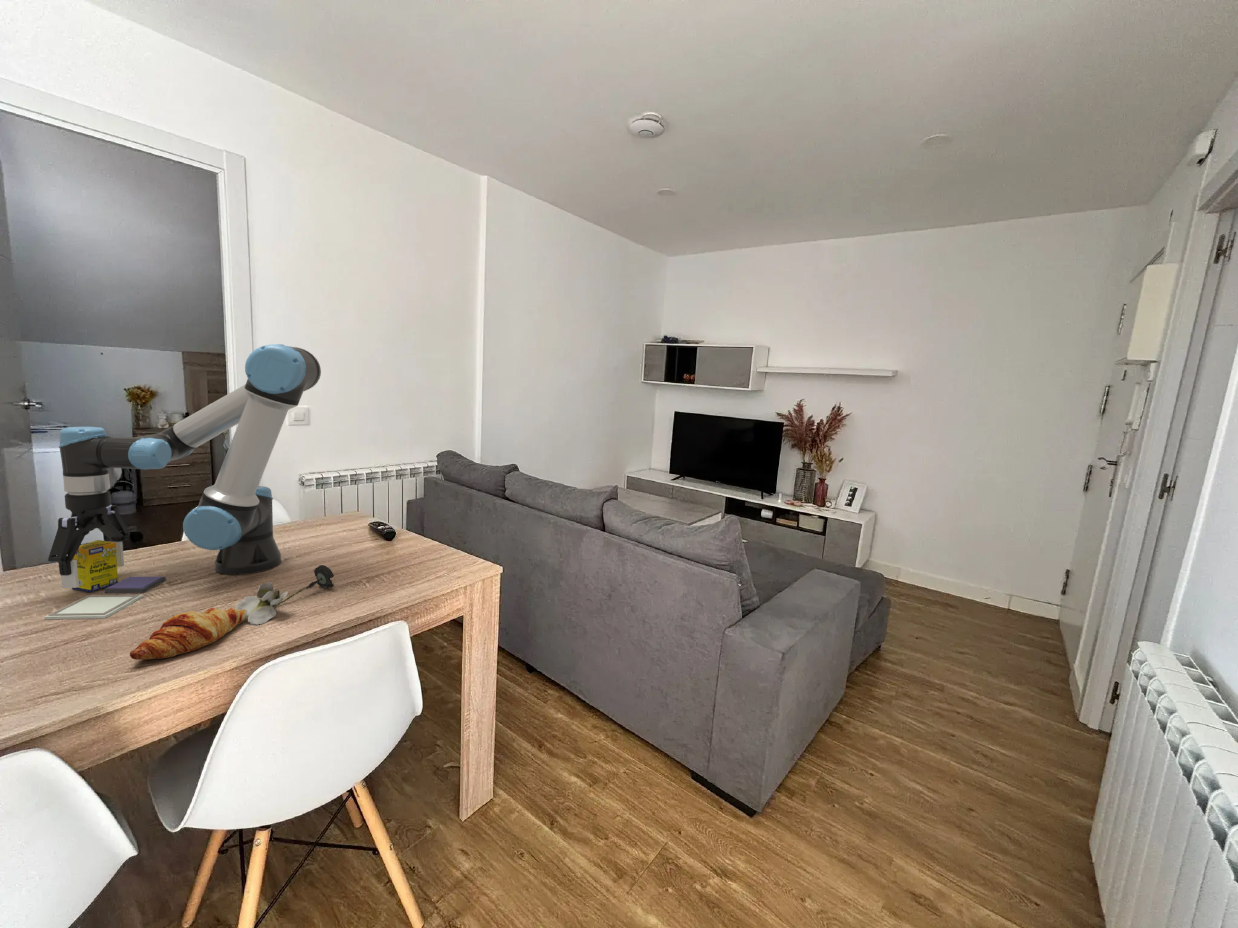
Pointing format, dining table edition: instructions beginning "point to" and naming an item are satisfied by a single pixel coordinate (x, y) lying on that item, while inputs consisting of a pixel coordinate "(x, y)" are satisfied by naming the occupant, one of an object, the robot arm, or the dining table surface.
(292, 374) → the robot arm
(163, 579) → the ink pad
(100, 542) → the supplement box
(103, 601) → the board
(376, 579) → the dining table surface
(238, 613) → the croissant
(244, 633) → the dining table surface
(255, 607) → the artificial flower
